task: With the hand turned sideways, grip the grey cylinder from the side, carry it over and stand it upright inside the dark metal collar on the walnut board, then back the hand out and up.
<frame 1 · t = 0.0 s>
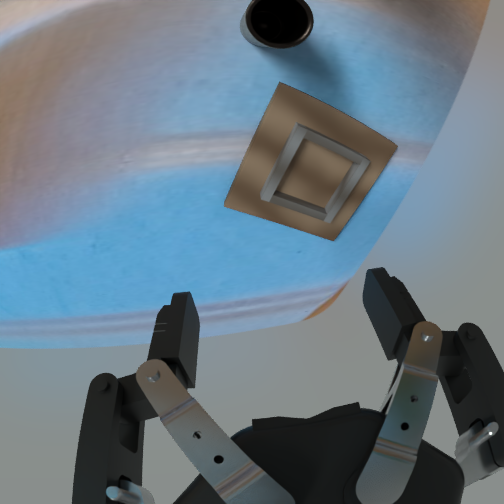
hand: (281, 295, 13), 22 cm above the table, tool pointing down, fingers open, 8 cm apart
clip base: (311, 169, 33), on the table
grey cylinder: (262, 26, 22), on the table
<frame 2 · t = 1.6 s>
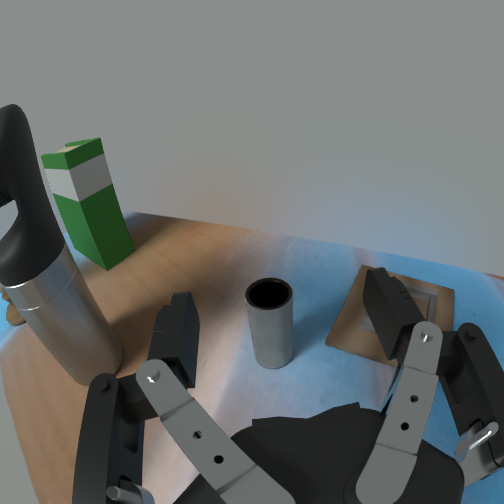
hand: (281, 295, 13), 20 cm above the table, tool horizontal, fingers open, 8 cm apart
candle holder: (23, 311, 43), on the table
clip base: (399, 317, 35), on the table
grey cylinder: (273, 355, 33), on the table
hardback book: (102, 250, 58), on the table
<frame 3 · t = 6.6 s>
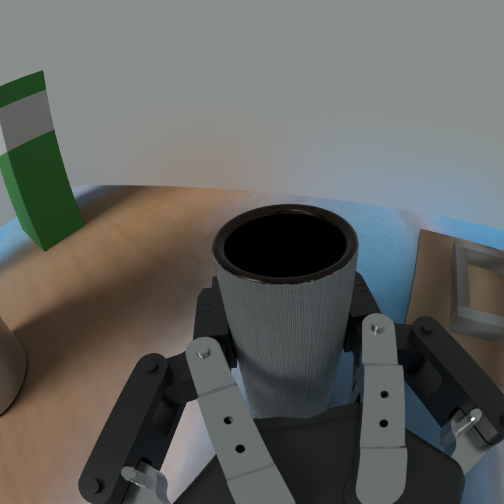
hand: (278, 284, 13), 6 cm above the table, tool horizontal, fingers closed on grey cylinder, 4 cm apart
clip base: (495, 308, 16), on the table
grey cylinder: (289, 396, 15), on the table, touching gripper
hardback book: (49, 228, 39), on the table
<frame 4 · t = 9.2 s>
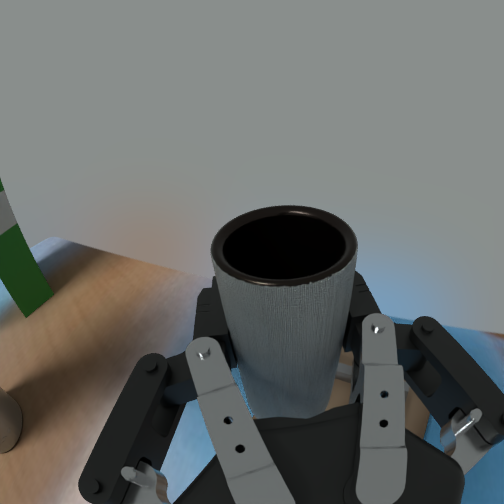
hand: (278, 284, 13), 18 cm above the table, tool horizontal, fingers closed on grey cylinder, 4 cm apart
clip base: (345, 421, 23), on the table
grey cylinder: (288, 397, 15), point 12 cm above the table, touching gripper
hardback book: (28, 290, 45), on the table
when the fingers open (9 cm above the table, at t = 12.2 s): grey cylinder drops 1 cm, resting on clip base.
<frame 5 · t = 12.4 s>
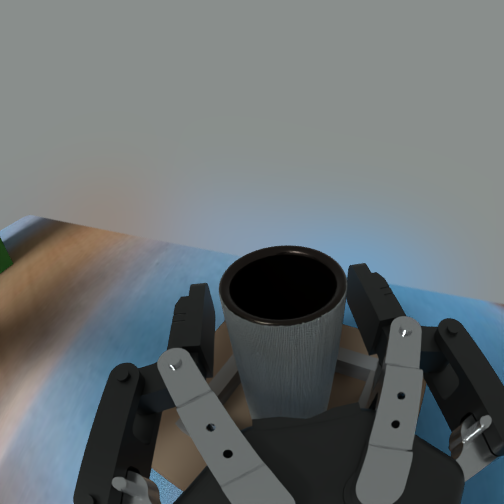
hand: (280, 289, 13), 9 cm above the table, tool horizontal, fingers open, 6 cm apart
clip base: (289, 414, 16), on the table
grey cylinder: (288, 412, 16), point 1 cm above the table, touching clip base
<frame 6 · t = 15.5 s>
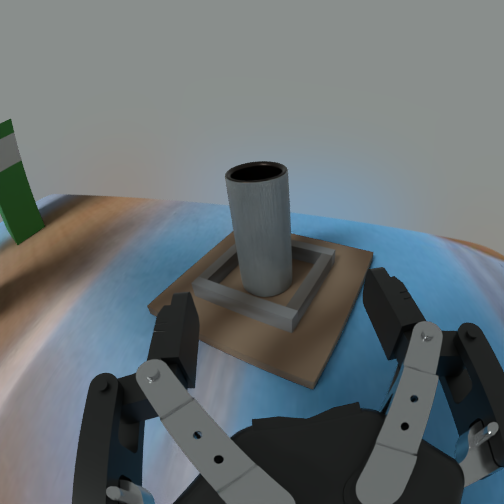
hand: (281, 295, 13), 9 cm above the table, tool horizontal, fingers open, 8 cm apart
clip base: (268, 287, 27), on the table
grey cylinder: (267, 282, 26), point 1 cm above the table, touching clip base
hardback book: (24, 229, 50), on the table
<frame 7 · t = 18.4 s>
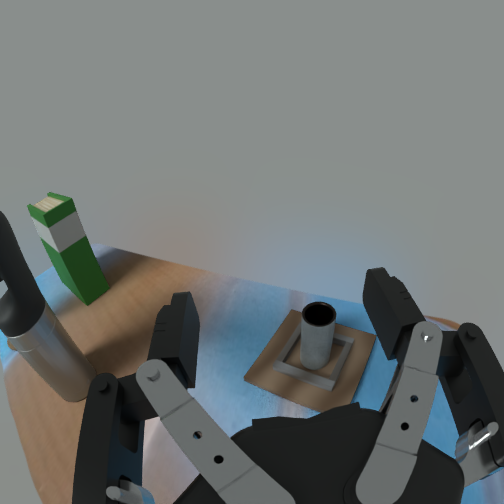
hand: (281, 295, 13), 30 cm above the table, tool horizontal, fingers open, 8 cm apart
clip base: (314, 360, 42), on the table
grey cylinder: (314, 359, 42), point 1 cm above the table, touching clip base
hardback book: (84, 285, 65), on the table
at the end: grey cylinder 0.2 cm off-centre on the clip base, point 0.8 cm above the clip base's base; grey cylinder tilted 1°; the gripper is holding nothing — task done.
